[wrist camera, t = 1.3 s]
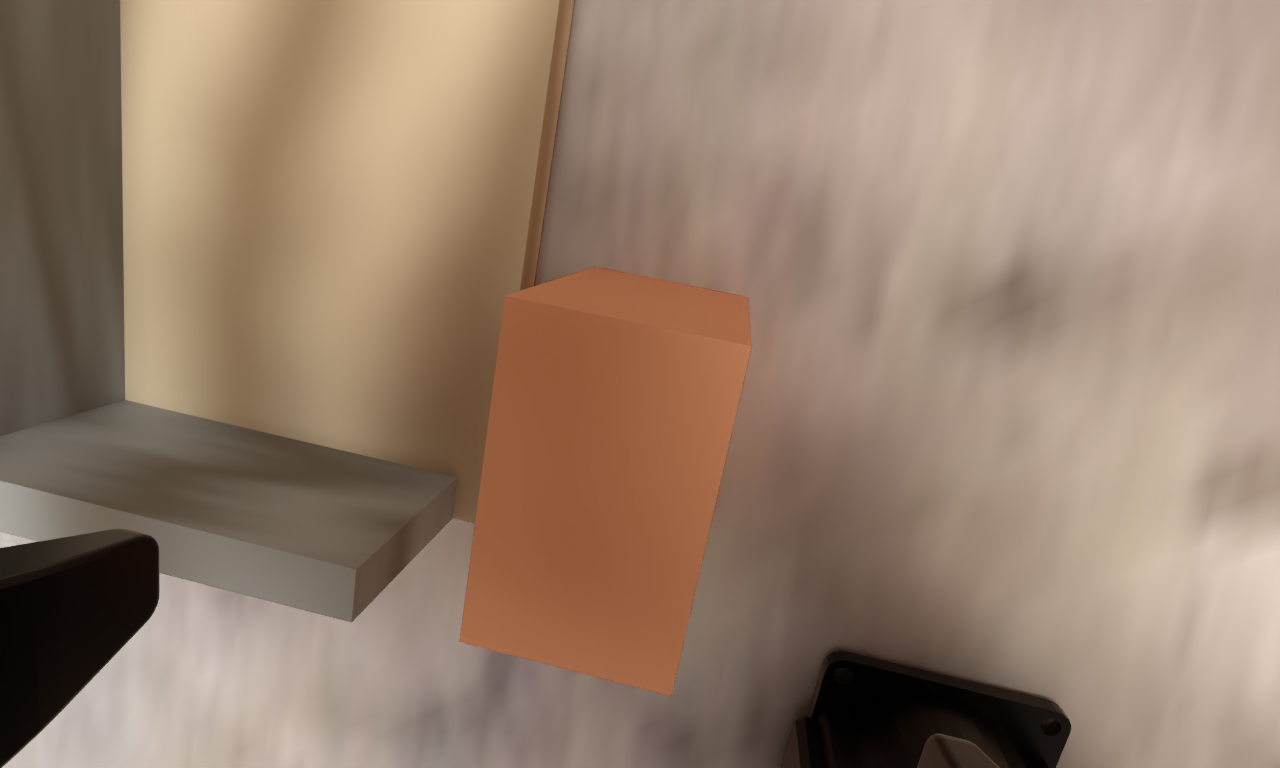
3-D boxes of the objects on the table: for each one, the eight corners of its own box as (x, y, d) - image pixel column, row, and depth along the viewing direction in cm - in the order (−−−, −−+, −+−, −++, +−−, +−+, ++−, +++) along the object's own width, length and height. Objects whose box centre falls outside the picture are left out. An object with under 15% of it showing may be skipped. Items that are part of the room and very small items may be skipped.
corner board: (579, -32, 16) (483, -181, 10) (502, 508, 20) (398, 634, 14) (81, -110, 17) (-268, -285, 11) (94, 411, 21) (-166, 489, 15)
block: (747, 297, 17) (751, 346, 11) (696, 527, 19) (671, 696, 12) (595, 266, 18) (505, 295, 11) (557, 494, 19) (459, 641, 13)
